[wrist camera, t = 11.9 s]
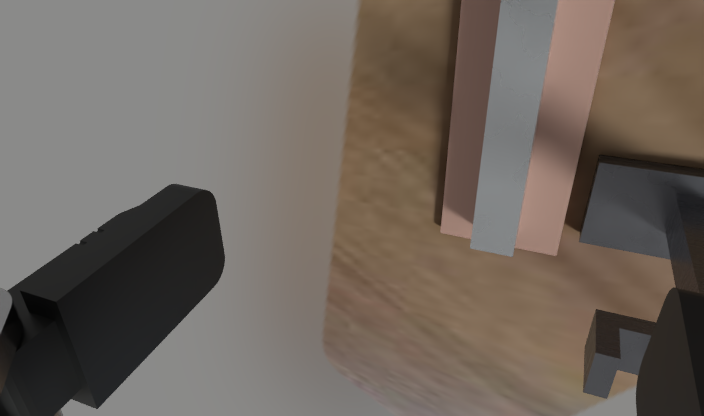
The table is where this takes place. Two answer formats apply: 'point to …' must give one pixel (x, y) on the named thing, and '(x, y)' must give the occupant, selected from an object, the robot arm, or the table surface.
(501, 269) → the table surface
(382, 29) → the table surface
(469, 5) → the felt mat
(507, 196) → the steel rail
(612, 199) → the hook standards
